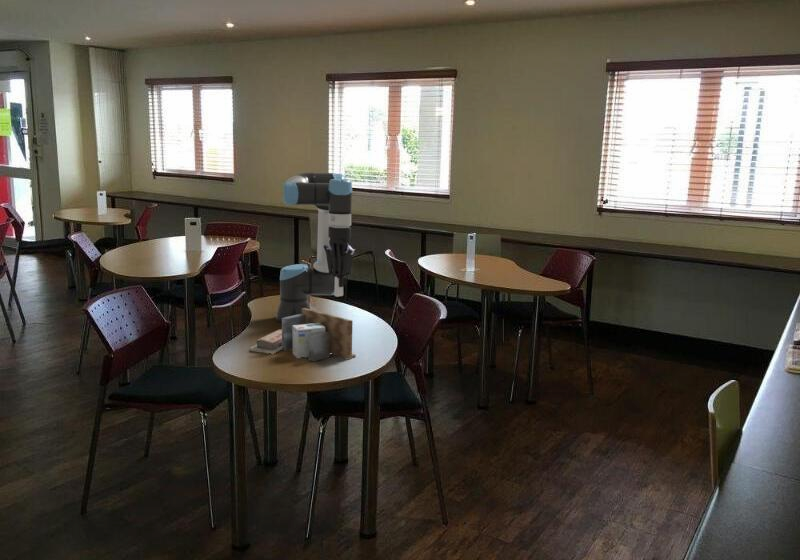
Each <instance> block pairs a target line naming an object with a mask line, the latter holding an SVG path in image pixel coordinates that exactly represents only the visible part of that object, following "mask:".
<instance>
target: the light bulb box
mask: <svg viewBox="0 0 800 560" xmlns="http://www.w3.org/2000/svg"><path fill="white" fill-rule="evenodd" d="M324 331H325V326H323V325H322V324H321V323H312V324H303V325H292V333H293V350H292V355H294V356H295V358H296V359H302V358H301V357H305V358H309V335H312V334H316V333H320V332H324Z"/></svg>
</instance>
